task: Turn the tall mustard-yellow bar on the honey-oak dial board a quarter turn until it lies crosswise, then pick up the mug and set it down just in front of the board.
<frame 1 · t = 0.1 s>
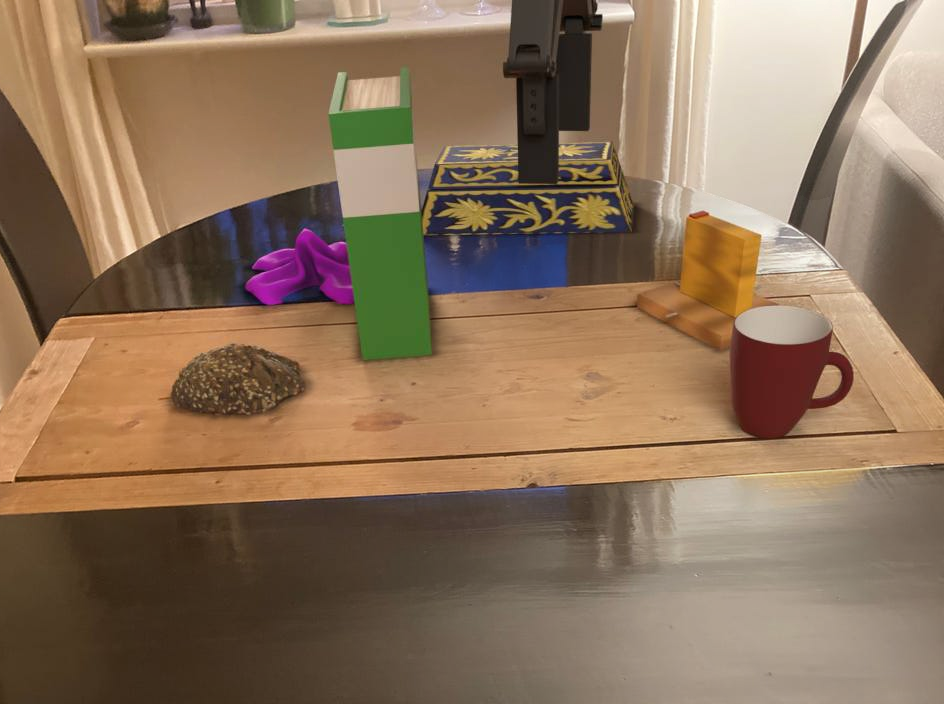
hand: (556, 154, 71), 24 cm above the table, tool pointing down, fingers open, 13 cm apart
hardback book: (398, 328, 108), on the table
cloth: (319, 277, 122), on the table
decorative box: (525, 225, 132), on the table
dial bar: (718, 263, 101), point 6 cm above the table, hinge at 0.0°
mug: (778, 432, 86), on the table
dial board: (712, 320, 105), on the table
bread roll: (245, 393, 99), on the table
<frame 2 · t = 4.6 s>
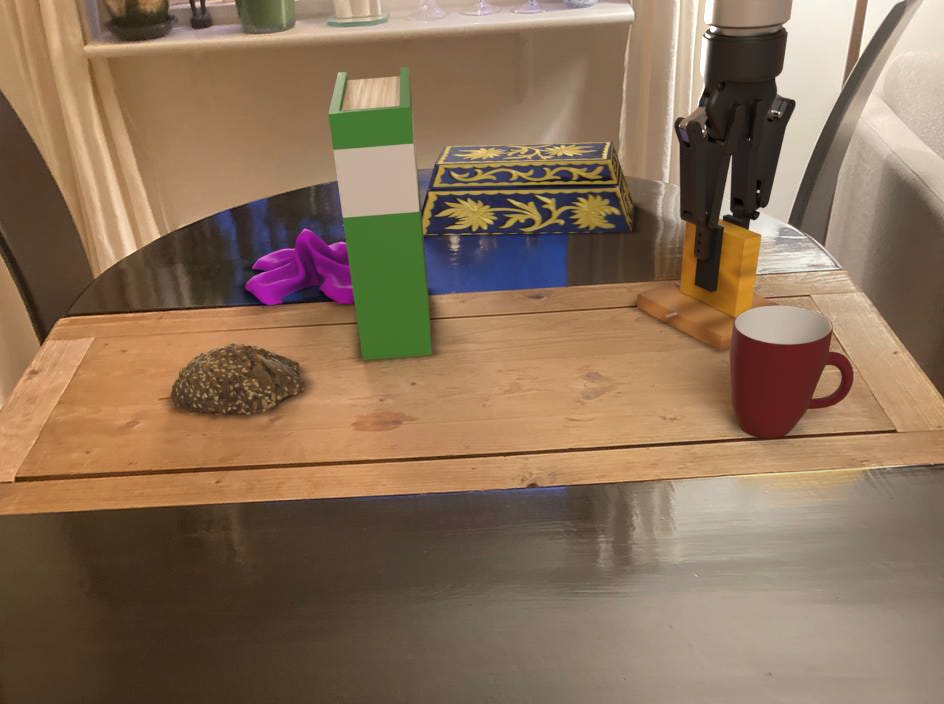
hand: (716, 283, 102), 4 cm above the table, tool pointing down, fingers closed on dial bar, 2 cm apart
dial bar: (718, 263, 101), point 6 cm above the table, hinge at 0.0°, touching gripper
everything else where it was.
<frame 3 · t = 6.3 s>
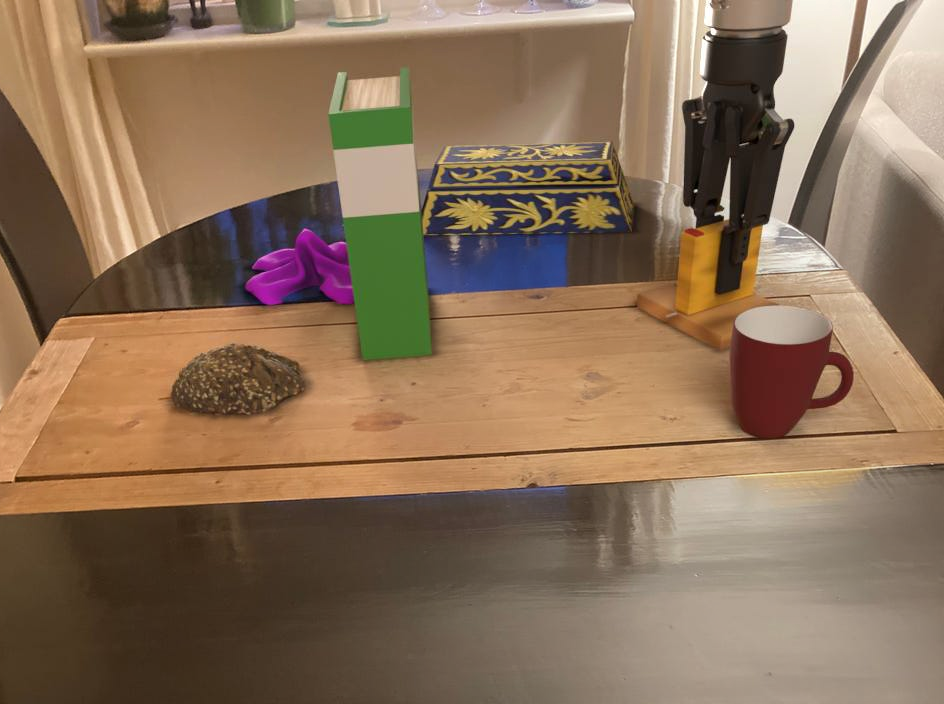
hand: (716, 285, 102), 4 cm above the table, tool pointing down, fingers open, 3 cm apart
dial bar: (718, 263, 101), point 6 cm above the table, hinge at 89.8°
everything else where it was.
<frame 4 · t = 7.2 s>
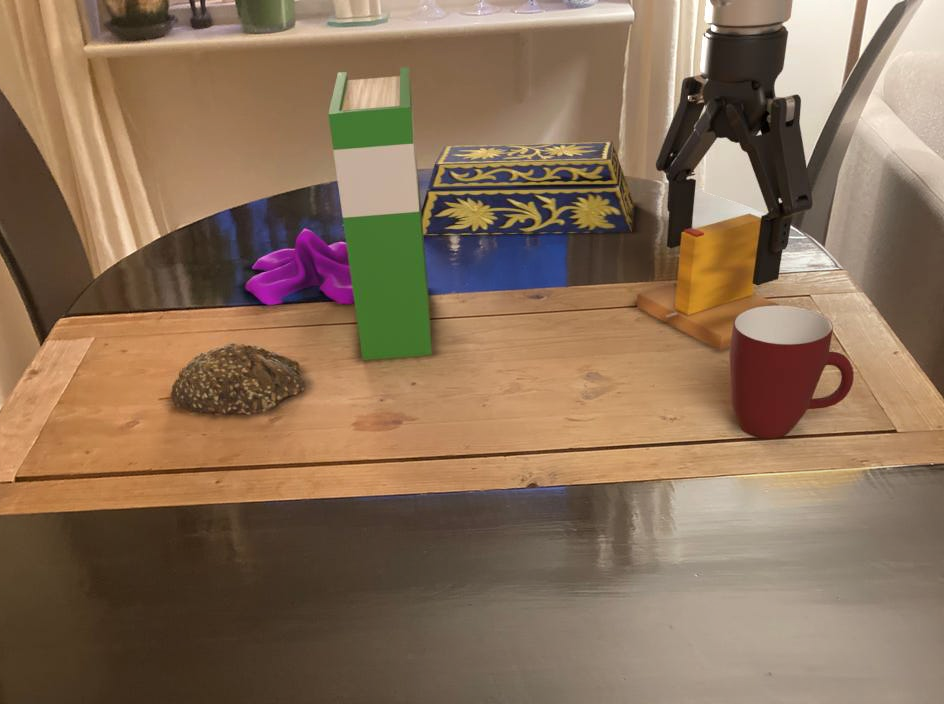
hand: (719, 262, 101), 6 cm above the table, tool pointing down, fingers open, 13 cm apart
nothing on the table moved.
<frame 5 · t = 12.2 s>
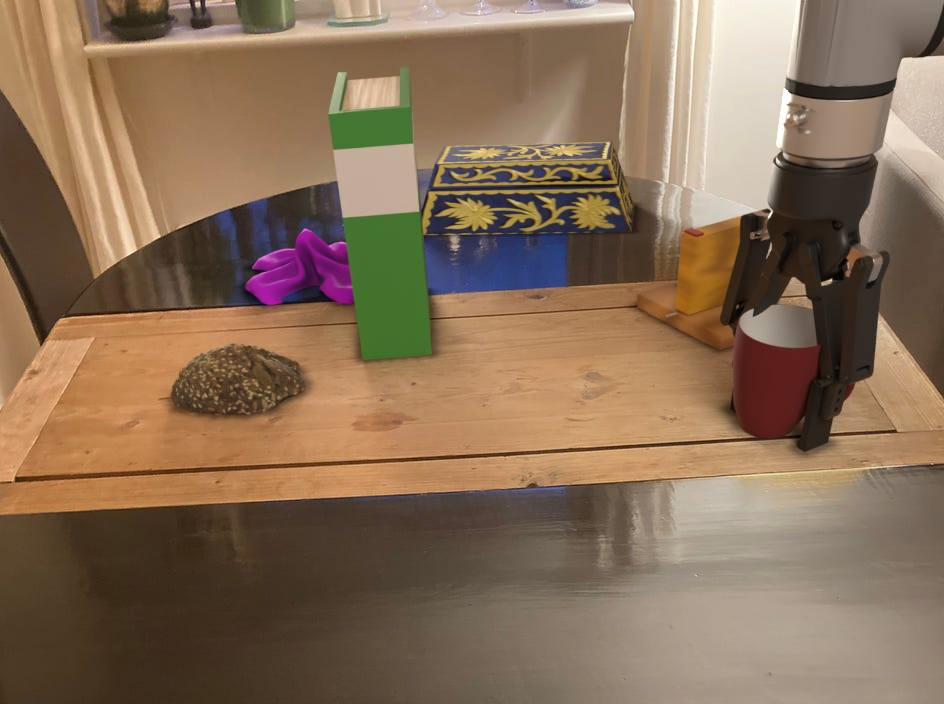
hand: (777, 425, 86), 0 cm above the table, tool pointing down, fingers closed on mug, 8 cm apart
mug: (778, 431, 86), on the table, touching gripper
everything else where it was.
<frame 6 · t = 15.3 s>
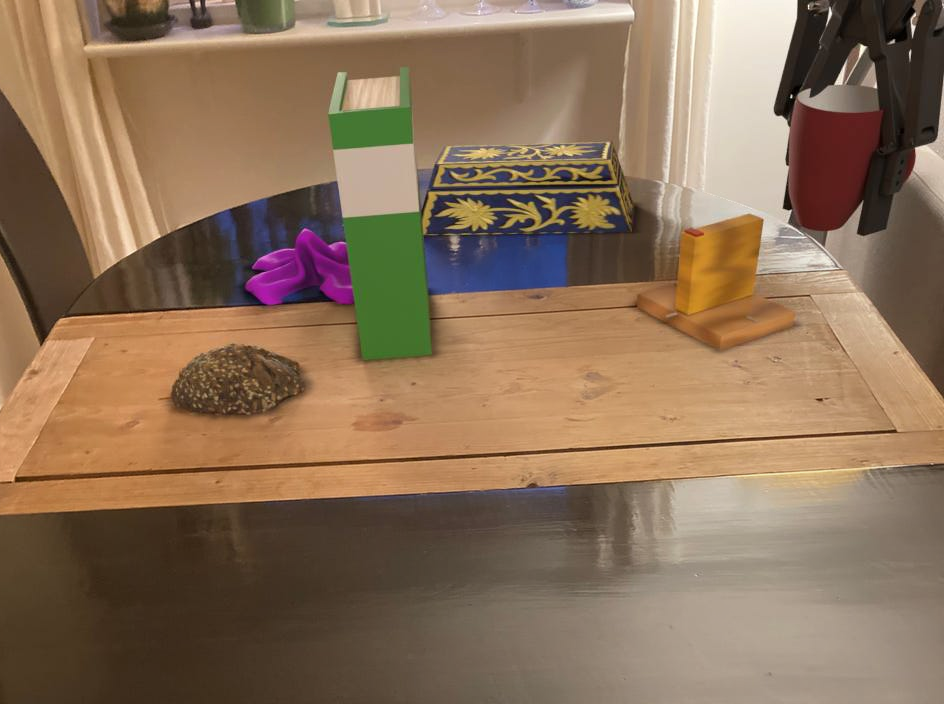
hand: (832, 218, 85), 15 cm above the table, tool pointing down, fingers closed on mug, 8 cm apart
mug: (834, 225, 85), point 14 cm above the table, touching gripper
everything else where it was.
when the fingers open (0 cm above the table, at t = 18.9 s): mug stays where it is, on the table.
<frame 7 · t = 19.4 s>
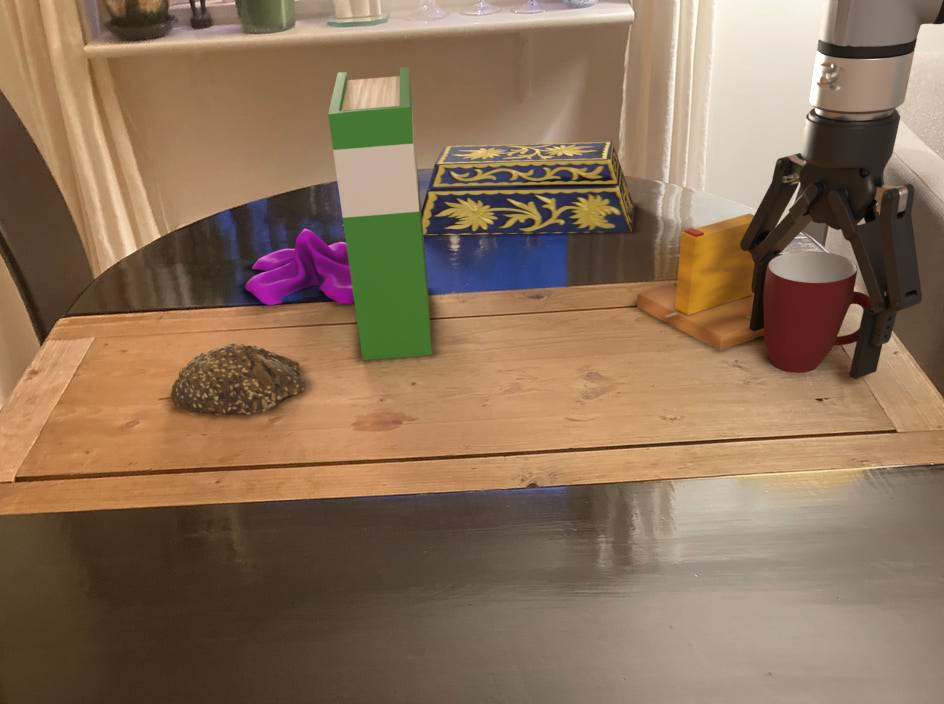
hand: (809, 349, 94), 2 cm above the table, tool pointing down, fingers open, 13 cm apart
mug: (806, 368, 95), on the table
everything else where it was.
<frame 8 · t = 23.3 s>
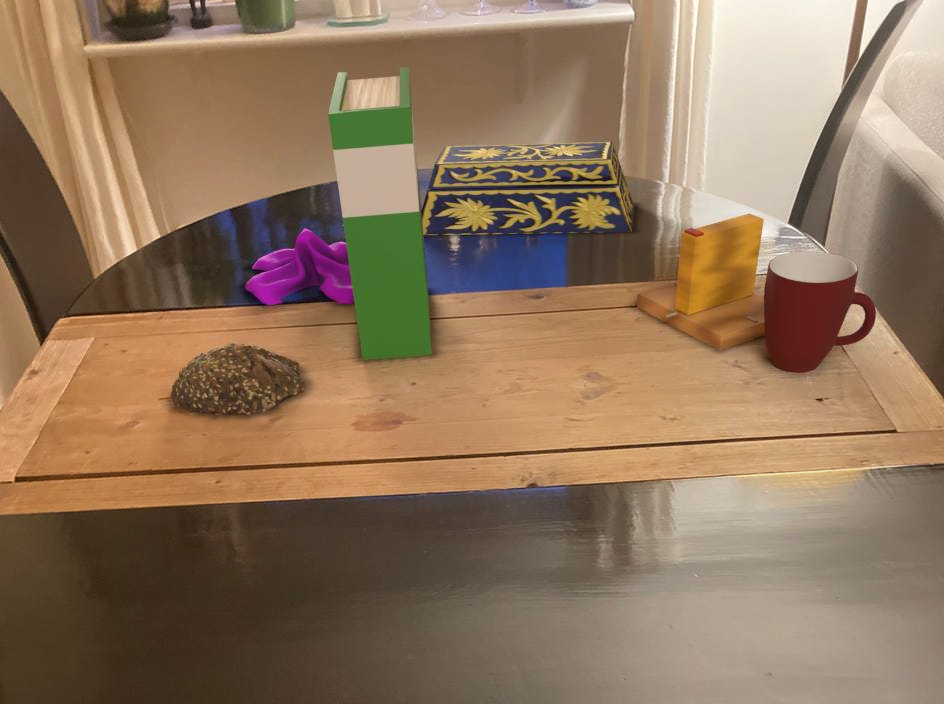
nothing on the table moved.
at the end: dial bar at +90° (first picture: +0°); mug inside the target area on the table beside the dial board (0.2 cm from its centre), on the table; mug tilted 0° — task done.
